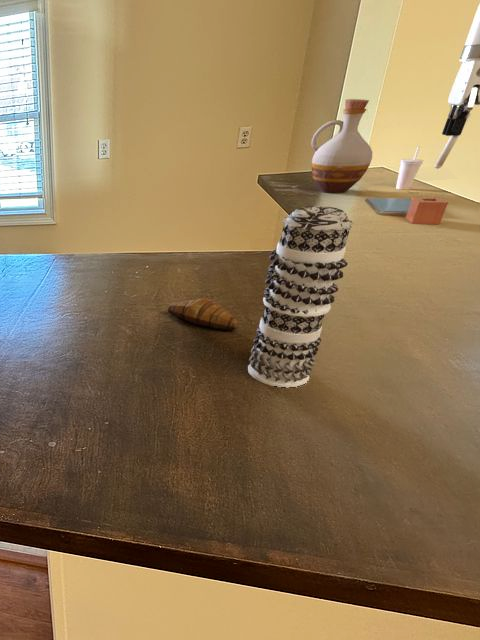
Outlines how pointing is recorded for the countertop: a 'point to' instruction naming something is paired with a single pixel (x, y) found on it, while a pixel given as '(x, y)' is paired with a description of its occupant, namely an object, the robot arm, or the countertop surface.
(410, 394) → the countertop surface
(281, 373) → the decorative candle
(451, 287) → the countertop surface
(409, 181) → the smoothie
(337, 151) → the jug
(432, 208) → the pen stand
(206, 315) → the croissant
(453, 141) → the stylus
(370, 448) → the countertop surface
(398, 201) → the tablet
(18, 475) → the countertop surface
